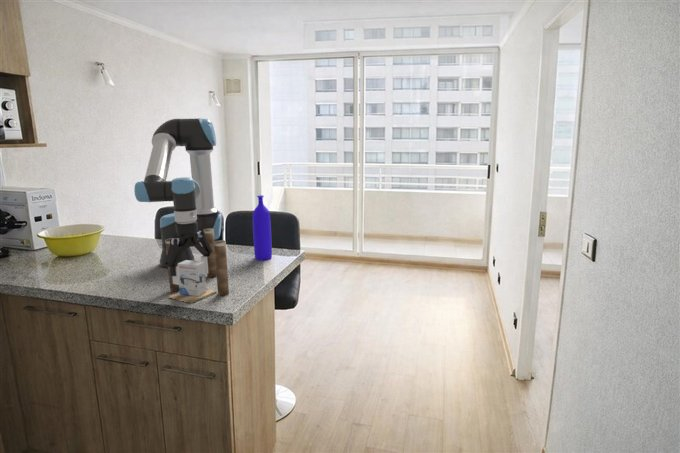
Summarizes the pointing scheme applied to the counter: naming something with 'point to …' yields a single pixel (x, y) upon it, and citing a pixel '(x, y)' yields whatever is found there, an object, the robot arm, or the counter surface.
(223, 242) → the corner post
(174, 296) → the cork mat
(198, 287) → the ink box
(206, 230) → the gate post
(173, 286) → the gate post
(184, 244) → the robot arm
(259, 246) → the bottle
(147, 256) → the counter surface
